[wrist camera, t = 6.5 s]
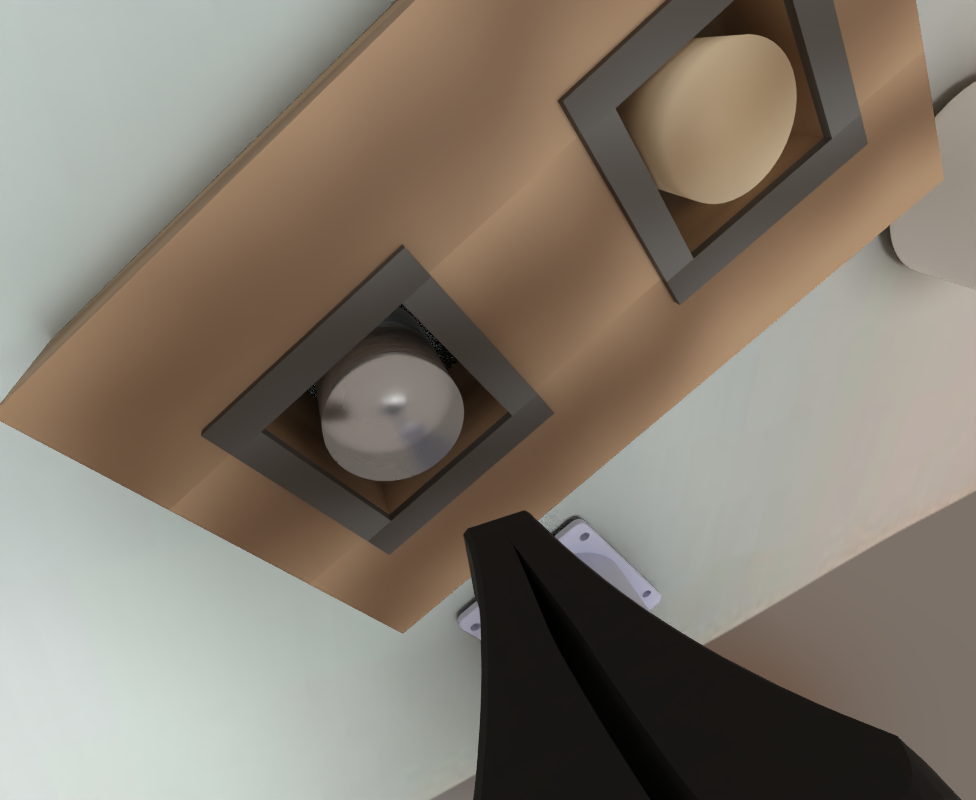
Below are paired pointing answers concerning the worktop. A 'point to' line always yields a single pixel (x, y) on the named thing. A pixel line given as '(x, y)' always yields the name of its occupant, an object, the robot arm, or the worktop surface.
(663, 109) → the maple peg
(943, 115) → the beverage can
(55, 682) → the worktop surface
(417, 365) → the metal peg
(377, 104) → the socket block
